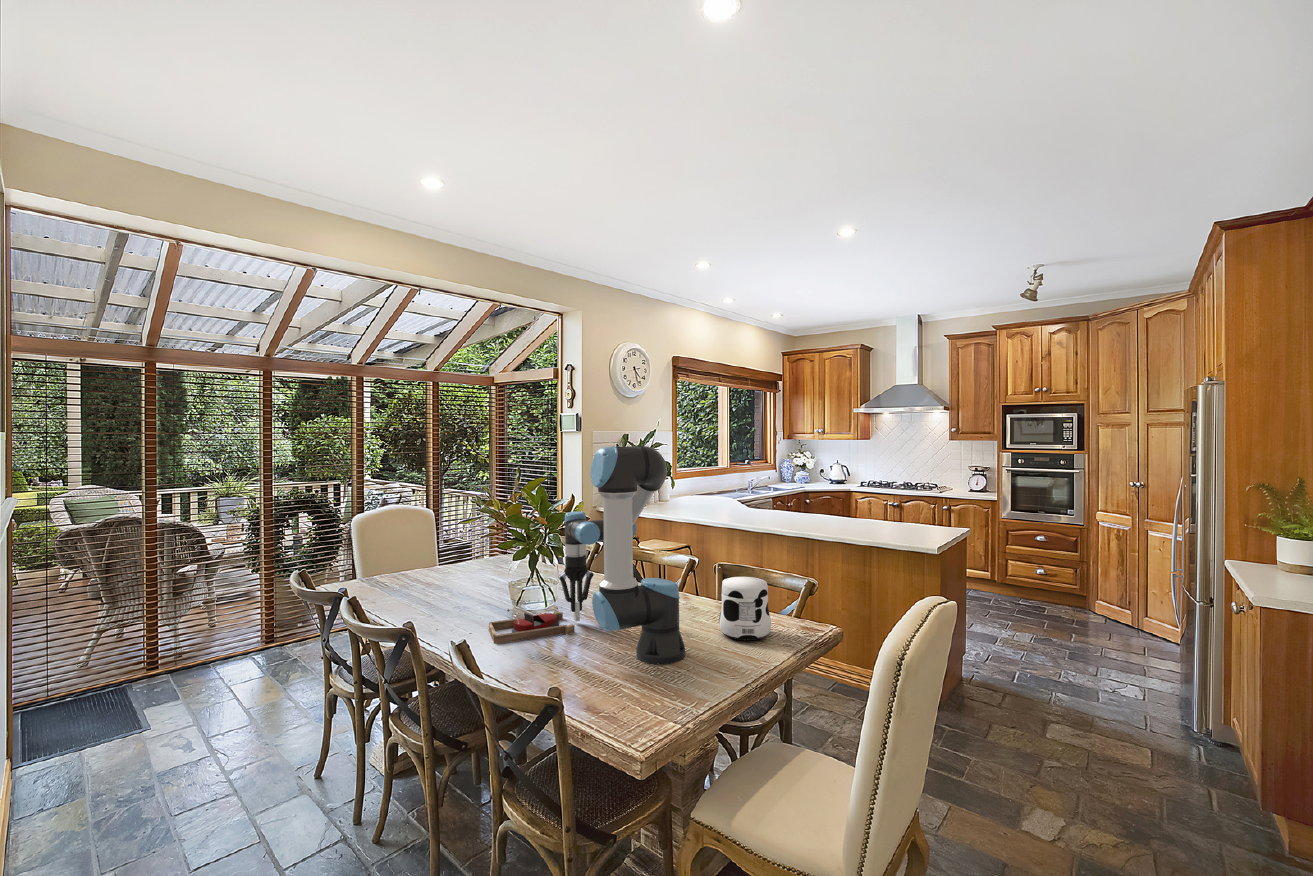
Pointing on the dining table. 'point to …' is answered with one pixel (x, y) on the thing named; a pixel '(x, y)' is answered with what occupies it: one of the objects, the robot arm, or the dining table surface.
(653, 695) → the dining table surface
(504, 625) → the cradle
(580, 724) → the dining table surface
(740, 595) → the milk container
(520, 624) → the bumper car
